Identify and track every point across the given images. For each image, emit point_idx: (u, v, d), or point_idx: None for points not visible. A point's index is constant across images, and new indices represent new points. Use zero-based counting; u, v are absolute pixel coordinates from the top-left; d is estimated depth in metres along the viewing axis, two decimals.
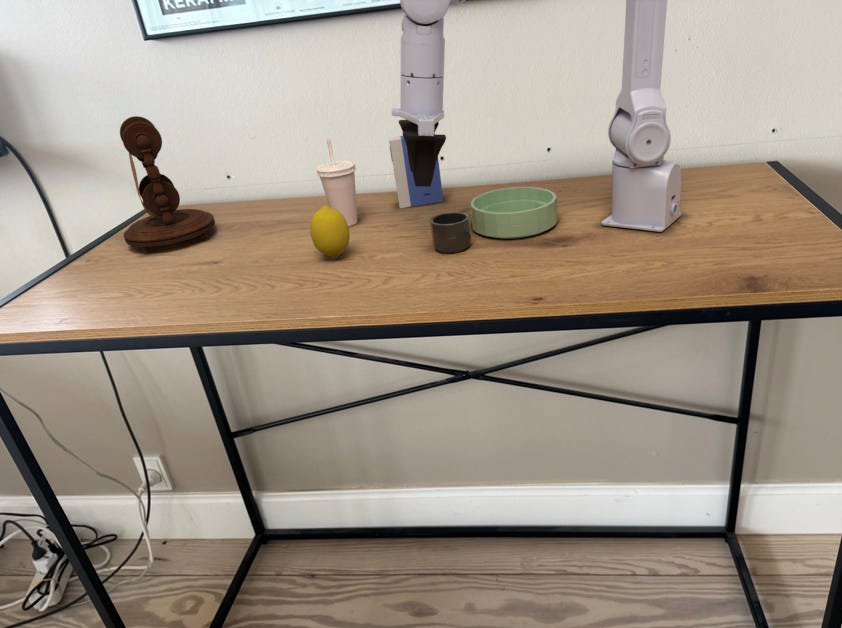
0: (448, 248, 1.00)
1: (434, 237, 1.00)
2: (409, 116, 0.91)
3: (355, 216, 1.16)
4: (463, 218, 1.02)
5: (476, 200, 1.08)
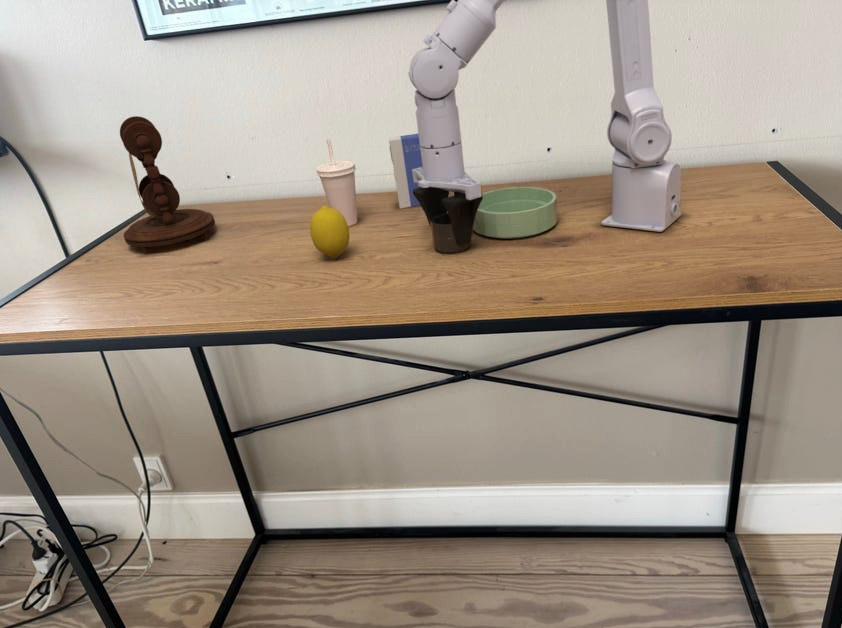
0: (448, 248, 1.00)
1: (434, 237, 1.00)
2: (447, 184, 0.94)
3: (355, 216, 1.16)
4: None
5: None
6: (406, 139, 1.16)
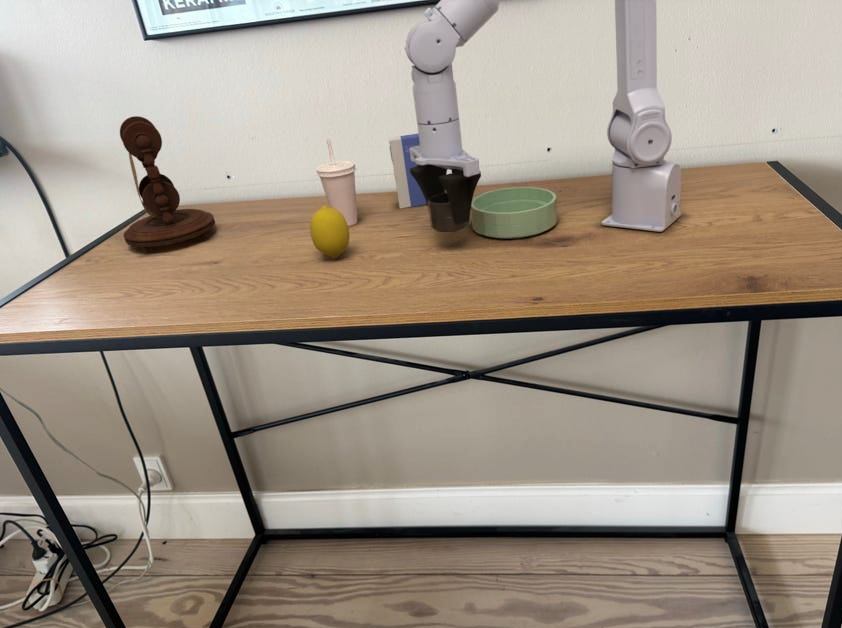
0: (446, 227, 0.98)
1: (432, 216, 0.99)
2: (445, 161, 0.92)
3: (355, 216, 1.16)
4: None
5: (476, 200, 1.08)
6: (406, 139, 1.16)
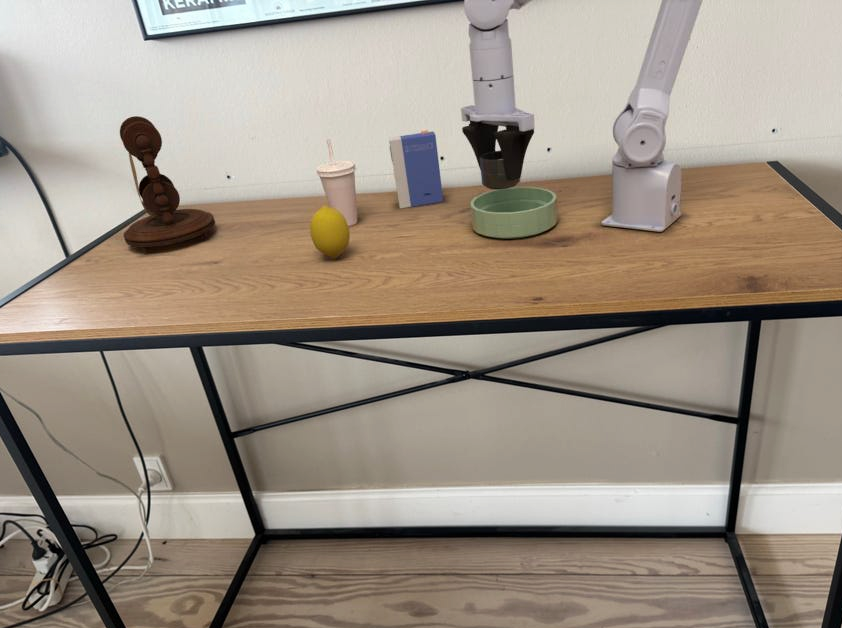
0: (498, 184, 1.01)
1: (484, 173, 1.01)
2: (500, 117, 0.95)
3: (355, 216, 1.16)
4: None
5: (476, 200, 1.08)
6: (406, 139, 1.16)
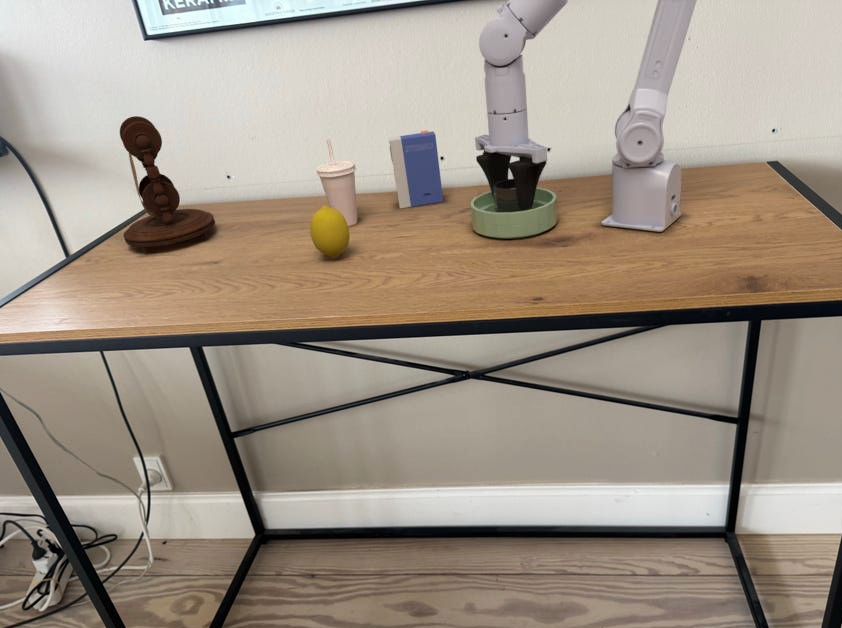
0: None
1: (497, 201, 1.04)
2: (514, 149, 0.98)
3: (355, 216, 1.16)
4: None
5: (476, 200, 1.08)
6: (406, 139, 1.16)
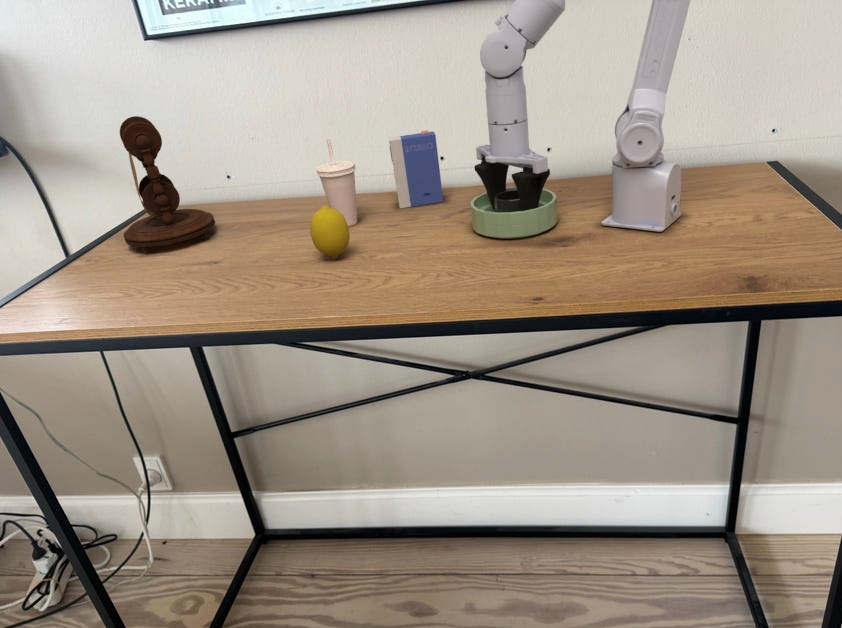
0: None
1: None
2: (515, 159, 0.99)
3: (355, 216, 1.16)
4: None
5: (476, 200, 1.08)
6: (406, 139, 1.16)
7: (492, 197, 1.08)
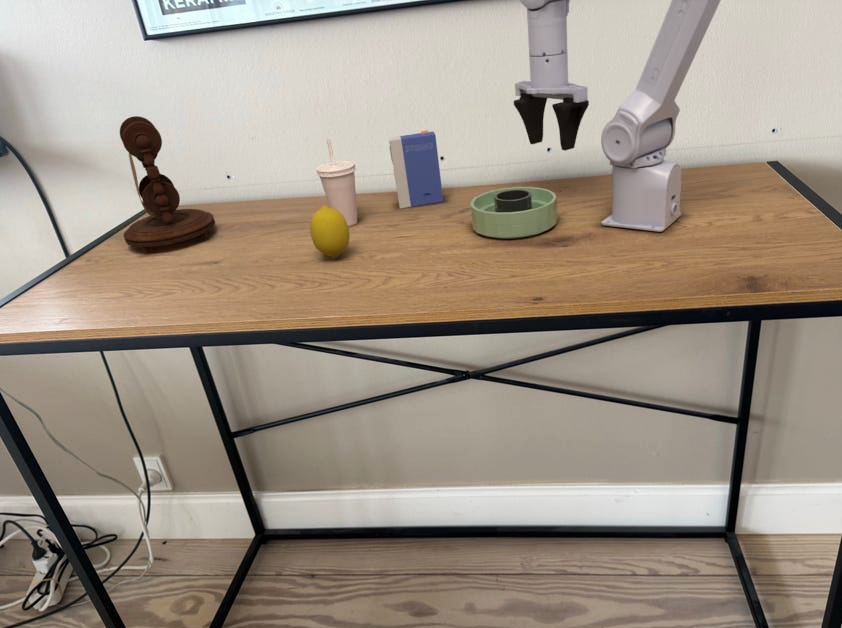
0: None
1: None
2: (556, 89, 1.03)
3: (355, 216, 1.16)
4: (525, 195, 1.07)
5: (476, 200, 1.08)
6: (406, 139, 1.16)
7: (530, 132, 1.12)
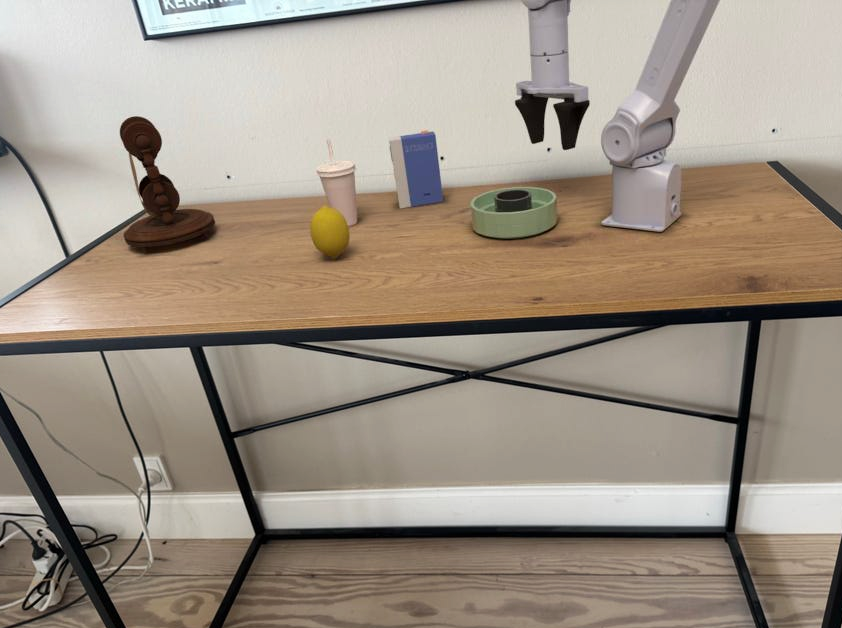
0: None
1: None
2: (557, 89, 1.03)
3: (355, 216, 1.16)
4: (525, 195, 1.07)
5: (476, 200, 1.08)
6: (406, 139, 1.16)
7: (531, 131, 1.12)
